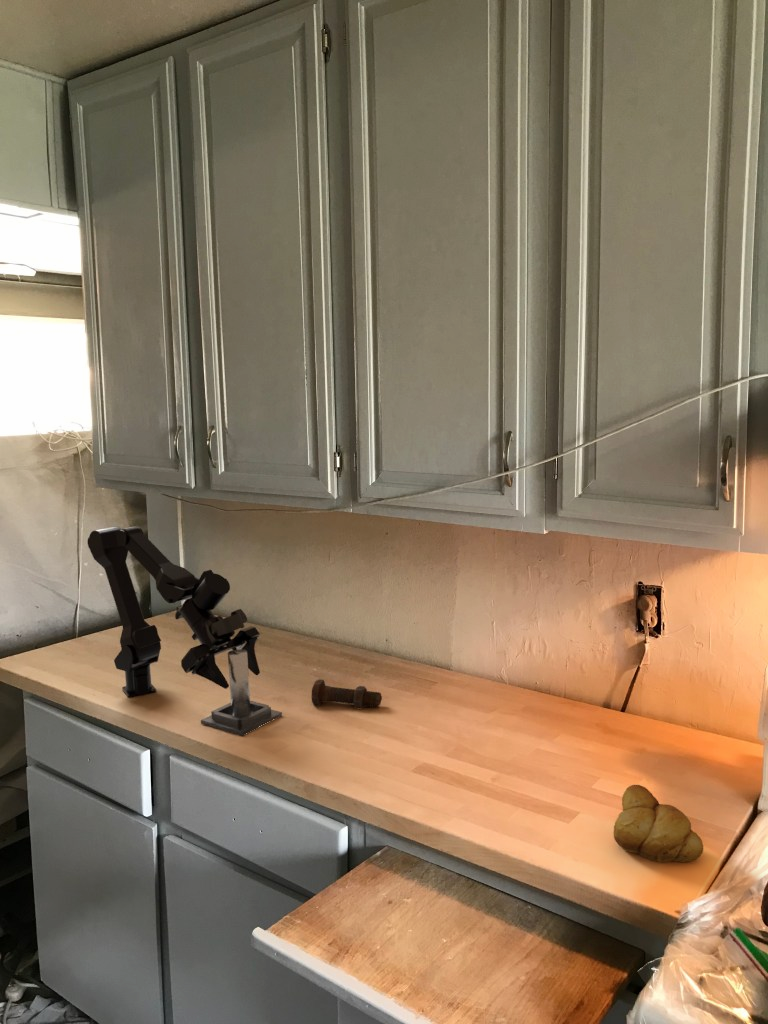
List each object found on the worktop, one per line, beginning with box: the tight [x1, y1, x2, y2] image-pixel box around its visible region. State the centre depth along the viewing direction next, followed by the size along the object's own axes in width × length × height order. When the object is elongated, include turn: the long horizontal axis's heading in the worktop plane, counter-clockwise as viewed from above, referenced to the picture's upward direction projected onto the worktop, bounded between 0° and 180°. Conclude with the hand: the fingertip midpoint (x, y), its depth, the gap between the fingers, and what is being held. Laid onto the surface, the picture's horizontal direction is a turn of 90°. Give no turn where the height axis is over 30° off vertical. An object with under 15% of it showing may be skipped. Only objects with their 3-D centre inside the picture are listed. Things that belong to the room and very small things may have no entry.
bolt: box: [310, 679, 383, 710], centre depth 183 cm, size 6×5×15 cm
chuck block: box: [200, 700, 283, 737], centre depth 177 cm, size 12×12×2 cm
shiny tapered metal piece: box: [227, 649, 251, 718], centre depth 176 cm, size 4×4×14 cm
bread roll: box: [613, 784, 704, 863], centre depth 123 cm, size 13×10×8 cm
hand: (243, 680), depth 175 cm, fingers open, 9 cm apart
